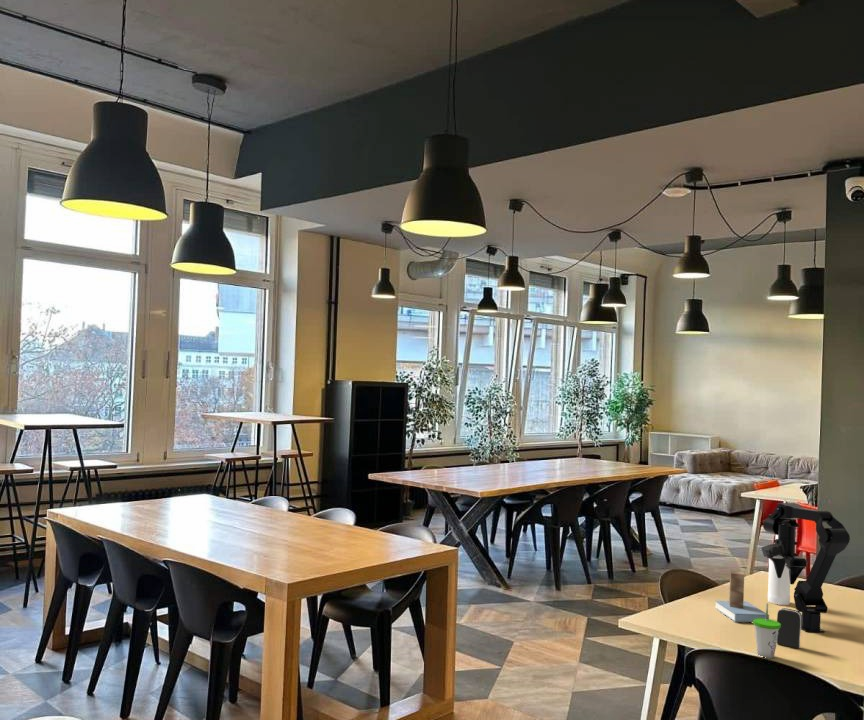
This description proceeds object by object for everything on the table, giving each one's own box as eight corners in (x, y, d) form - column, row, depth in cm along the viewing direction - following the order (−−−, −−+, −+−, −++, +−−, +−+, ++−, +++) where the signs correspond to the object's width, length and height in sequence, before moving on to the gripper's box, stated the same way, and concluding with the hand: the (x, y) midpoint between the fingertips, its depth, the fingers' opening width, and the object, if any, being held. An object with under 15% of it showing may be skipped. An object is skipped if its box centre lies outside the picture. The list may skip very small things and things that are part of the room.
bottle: (768, 604, 298) (771, 525, 299) (766, 599, 305) (768, 522, 306) (791, 606, 295) (793, 527, 297) (788, 601, 303) (790, 524, 304)
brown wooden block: (742, 605, 283) (743, 572, 283) (743, 608, 278) (744, 574, 279) (729, 603, 284) (730, 570, 285) (729, 606, 280) (730, 573, 280)
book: (768, 623, 271) (769, 614, 271) (735, 622, 271) (735, 613, 271) (746, 609, 288) (746, 601, 288) (715, 608, 287) (715, 600, 288)
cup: (770, 662, 230) (772, 611, 231) (746, 654, 237) (748, 604, 237) (784, 658, 235) (786, 608, 235) (760, 650, 241) (762, 601, 242)
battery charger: (802, 646, 247) (803, 610, 247) (799, 649, 244) (800, 613, 244) (778, 641, 251) (780, 606, 251) (775, 644, 248) (776, 608, 248)
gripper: (753, 532, 290) (751, 574, 289) (777, 542, 271) (776, 586, 271) (782, 533, 291) (780, 575, 290) (808, 543, 272) (807, 588, 271)
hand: (785, 581), depth 281 cm, fingers open, 9 cm apart
